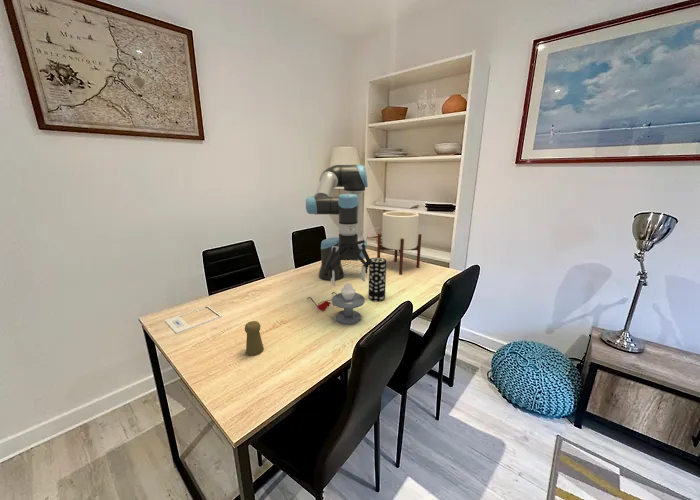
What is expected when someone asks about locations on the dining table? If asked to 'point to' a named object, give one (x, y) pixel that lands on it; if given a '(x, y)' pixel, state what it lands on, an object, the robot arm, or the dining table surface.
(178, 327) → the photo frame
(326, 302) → the glasses
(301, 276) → the dining table surface
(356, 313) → the cake stand
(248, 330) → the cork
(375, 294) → the spotted tube
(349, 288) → the muffin
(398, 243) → the plant pot with stand
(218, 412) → the dining table surface
